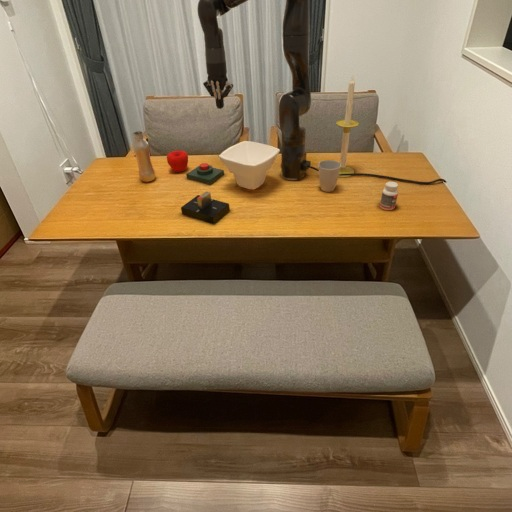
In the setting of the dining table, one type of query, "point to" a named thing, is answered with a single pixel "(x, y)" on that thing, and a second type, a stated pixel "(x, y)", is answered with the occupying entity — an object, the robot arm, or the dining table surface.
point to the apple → (177, 160)
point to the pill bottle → (389, 196)
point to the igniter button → (204, 166)
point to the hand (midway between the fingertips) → (220, 108)
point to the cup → (328, 174)
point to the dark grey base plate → (205, 175)
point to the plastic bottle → (143, 157)
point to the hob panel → (206, 210)
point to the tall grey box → (204, 200)
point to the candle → (347, 130)
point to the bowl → (249, 162)
